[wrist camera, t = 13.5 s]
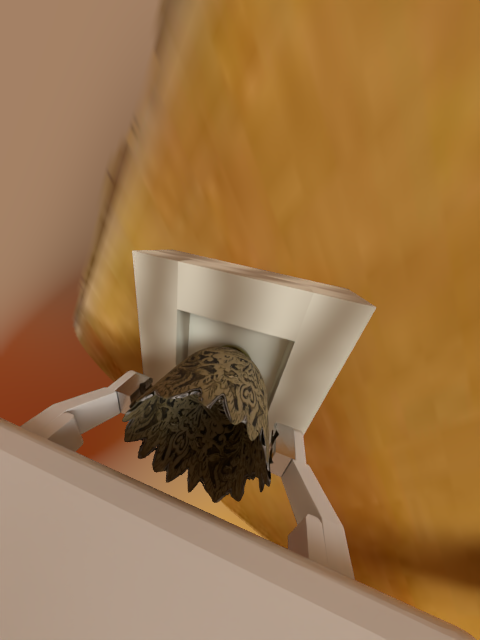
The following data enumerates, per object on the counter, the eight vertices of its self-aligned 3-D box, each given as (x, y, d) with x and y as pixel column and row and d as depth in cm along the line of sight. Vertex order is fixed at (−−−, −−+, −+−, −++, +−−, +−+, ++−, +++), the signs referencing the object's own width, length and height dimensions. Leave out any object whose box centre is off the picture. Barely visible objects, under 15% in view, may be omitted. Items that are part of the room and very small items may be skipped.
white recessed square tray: (345, 287, 13) (376, 307, 9) (288, 410, 20) (290, 457, 15) (175, 249, 16) (132, 250, 11) (174, 372, 22) (146, 404, 17)
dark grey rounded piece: (237, 402, 17) (205, 514, 10) (181, 354, 16) (102, 438, 9) (295, 363, 14) (309, 488, 7) (228, 302, 13) (163, 368, 6)
